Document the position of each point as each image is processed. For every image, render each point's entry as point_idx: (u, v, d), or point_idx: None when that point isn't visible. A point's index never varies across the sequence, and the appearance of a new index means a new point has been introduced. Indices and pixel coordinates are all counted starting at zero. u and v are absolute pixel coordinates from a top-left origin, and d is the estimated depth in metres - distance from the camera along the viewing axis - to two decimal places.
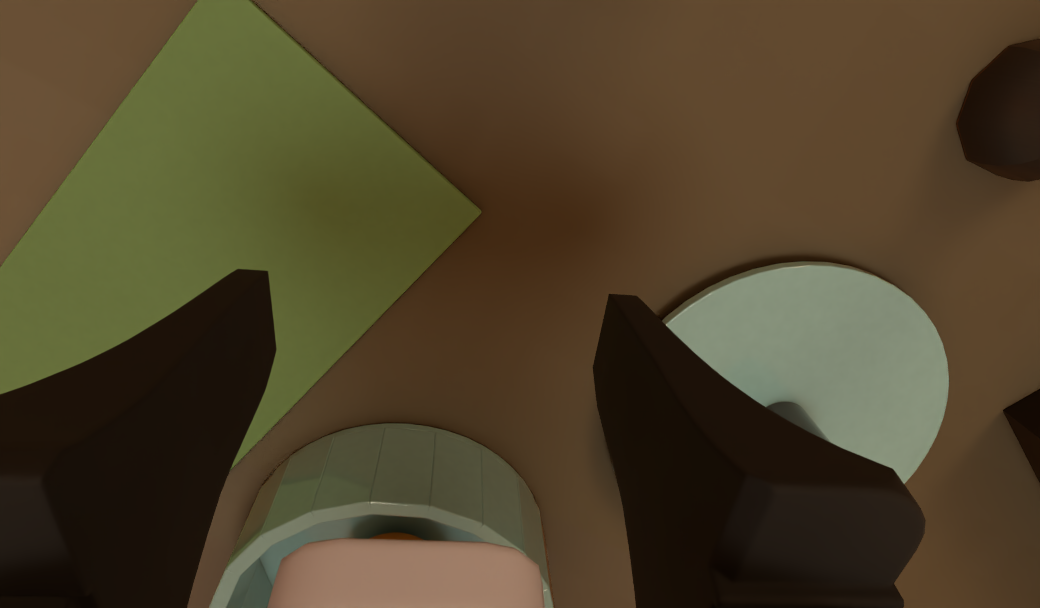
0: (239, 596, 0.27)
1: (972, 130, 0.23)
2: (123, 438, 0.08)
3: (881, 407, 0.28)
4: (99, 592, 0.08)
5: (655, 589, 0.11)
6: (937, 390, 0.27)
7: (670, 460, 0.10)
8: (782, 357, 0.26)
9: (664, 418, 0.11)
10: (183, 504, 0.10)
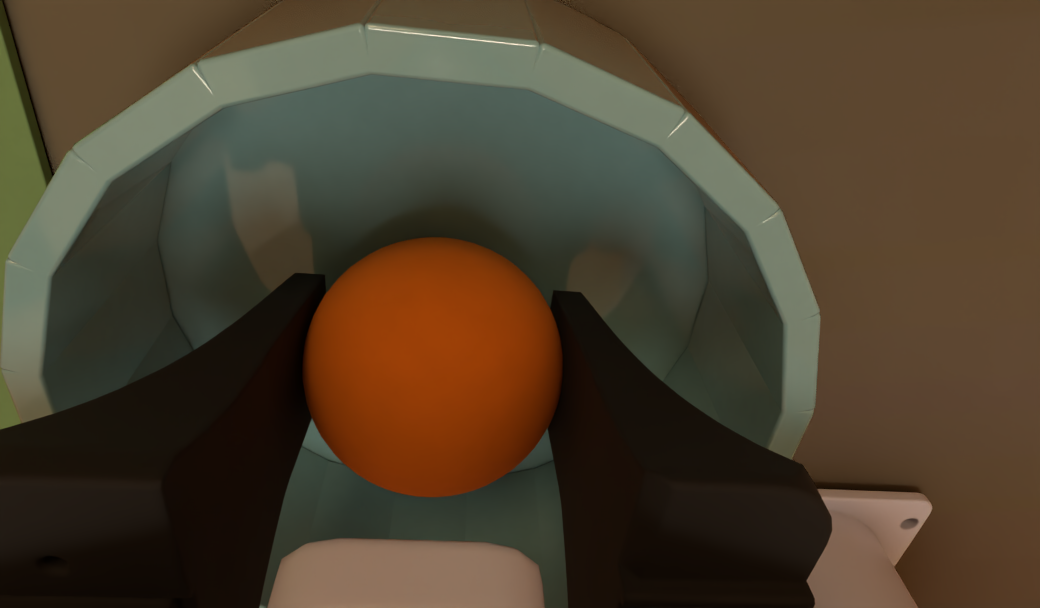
0: None
1: None
2: (218, 442, 0.08)
3: None
4: (199, 594, 0.08)
5: (581, 588, 0.10)
6: None
7: (594, 457, 0.10)
8: None
9: (591, 414, 0.11)
10: (258, 506, 0.10)
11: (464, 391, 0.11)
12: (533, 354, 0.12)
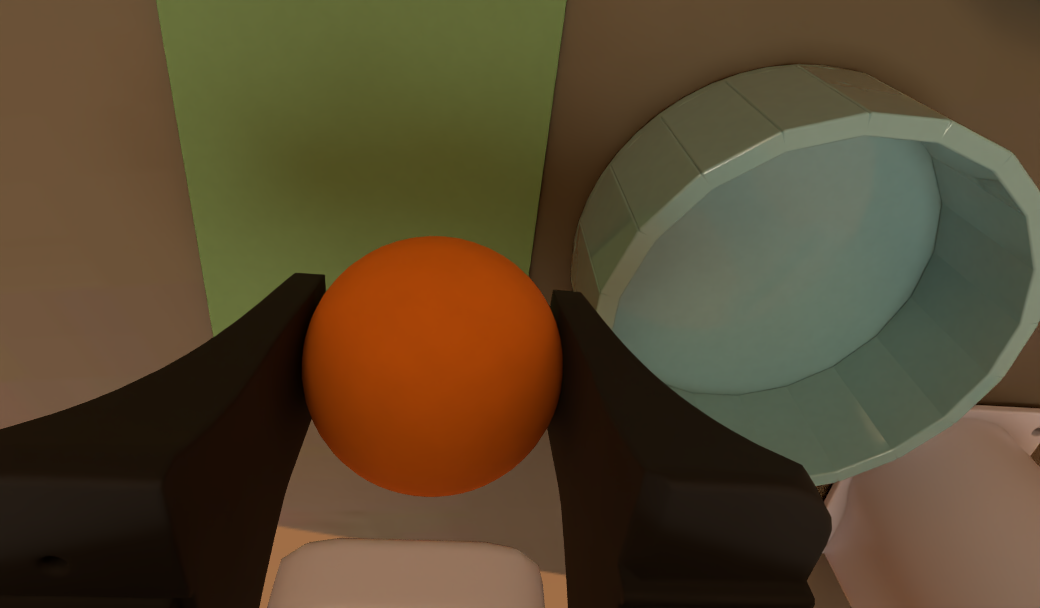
0: None
1: None
2: (218, 442, 0.08)
3: None
4: (199, 594, 0.08)
5: (581, 588, 0.10)
6: None
7: (594, 457, 0.10)
8: None
9: (591, 414, 0.11)
10: (258, 506, 0.10)
11: (463, 390, 0.11)
12: (533, 353, 0.11)
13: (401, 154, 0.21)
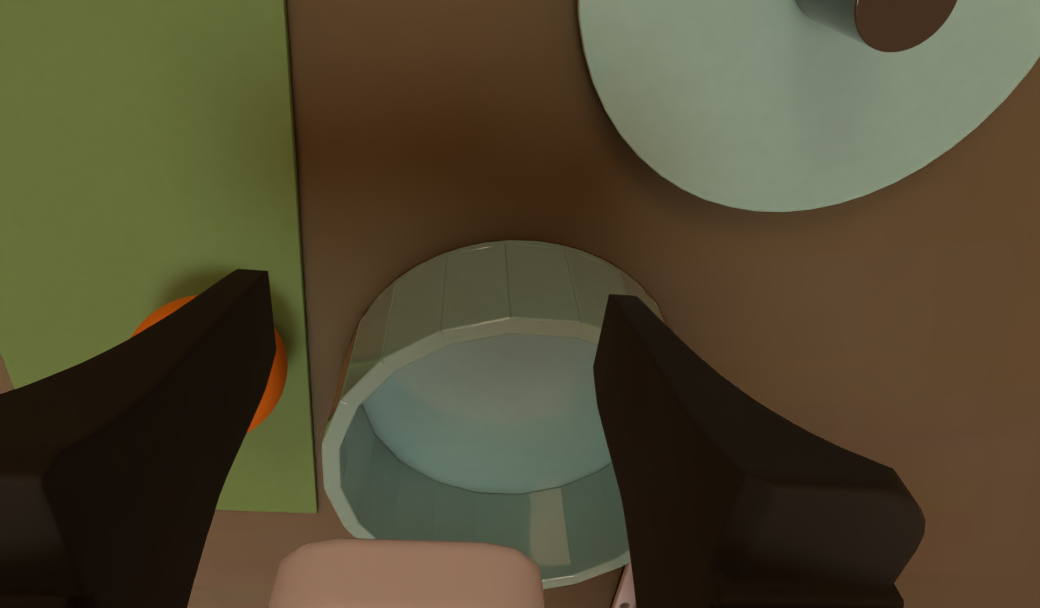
0: (381, 504, 0.26)
1: None
2: (123, 438, 0.08)
3: None
4: (99, 592, 0.08)
5: (655, 589, 0.11)
6: None
7: (670, 460, 0.10)
8: None
9: (664, 418, 0.11)
10: (183, 504, 0.10)
11: None
12: None
13: None
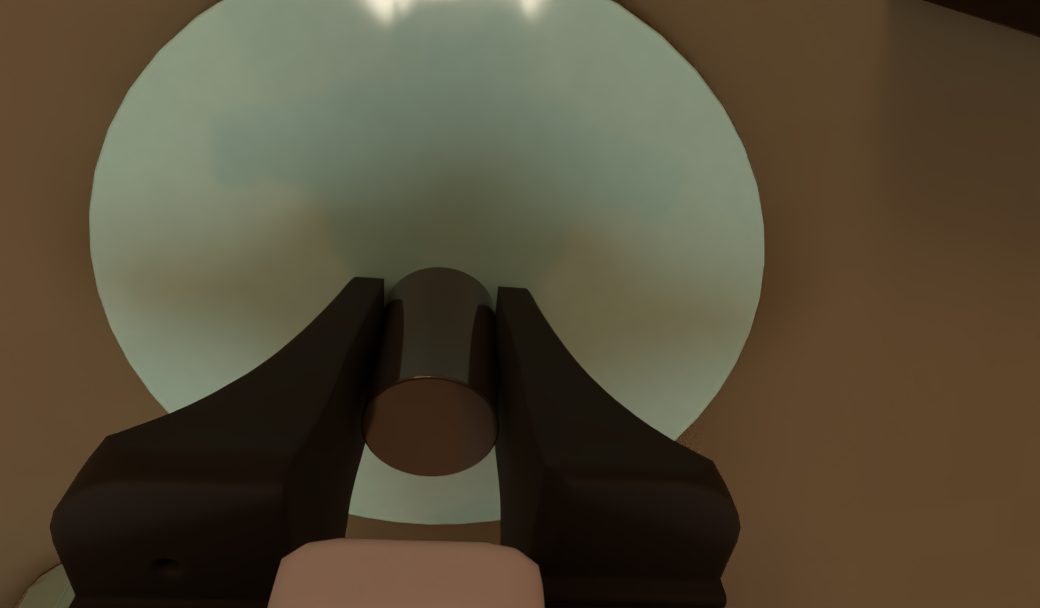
0: None
1: None
2: (315, 446, 0.08)
3: (578, 174, 0.13)
4: None
5: None
6: (655, 71, 0.12)
7: (519, 454, 0.10)
8: (315, 221, 0.13)
9: (518, 411, 0.10)
10: (336, 509, 0.11)
11: None
12: None
13: None
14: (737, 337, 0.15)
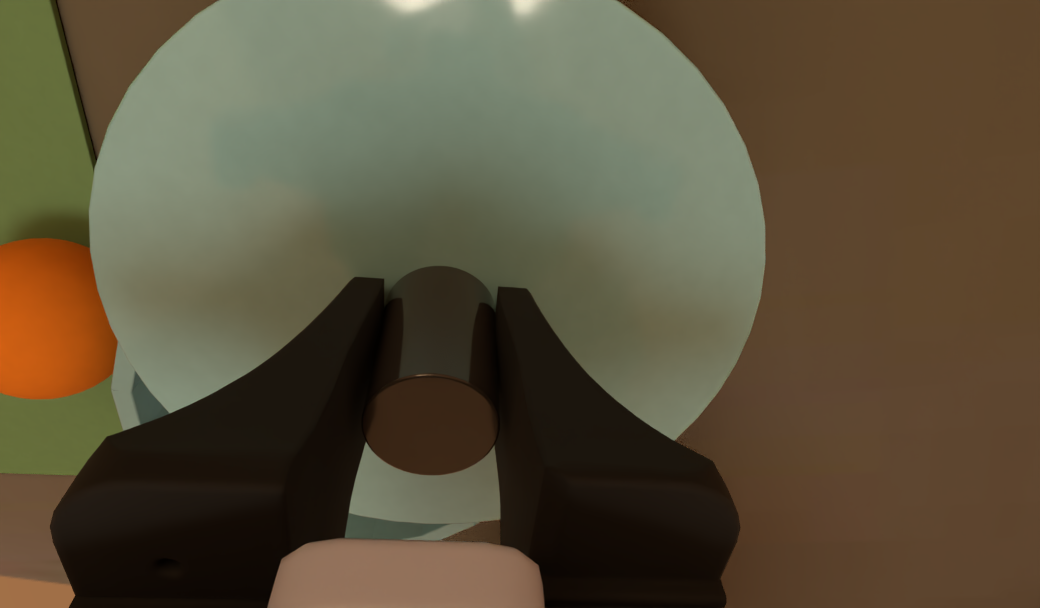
0: None
1: None
2: (316, 446, 0.08)
3: (579, 172, 0.13)
4: None
5: None
6: (656, 69, 0.12)
7: (518, 454, 0.10)
8: (316, 219, 0.13)
9: (518, 411, 0.10)
10: (336, 509, 0.11)
11: None
12: None
13: None
14: (738, 336, 0.15)
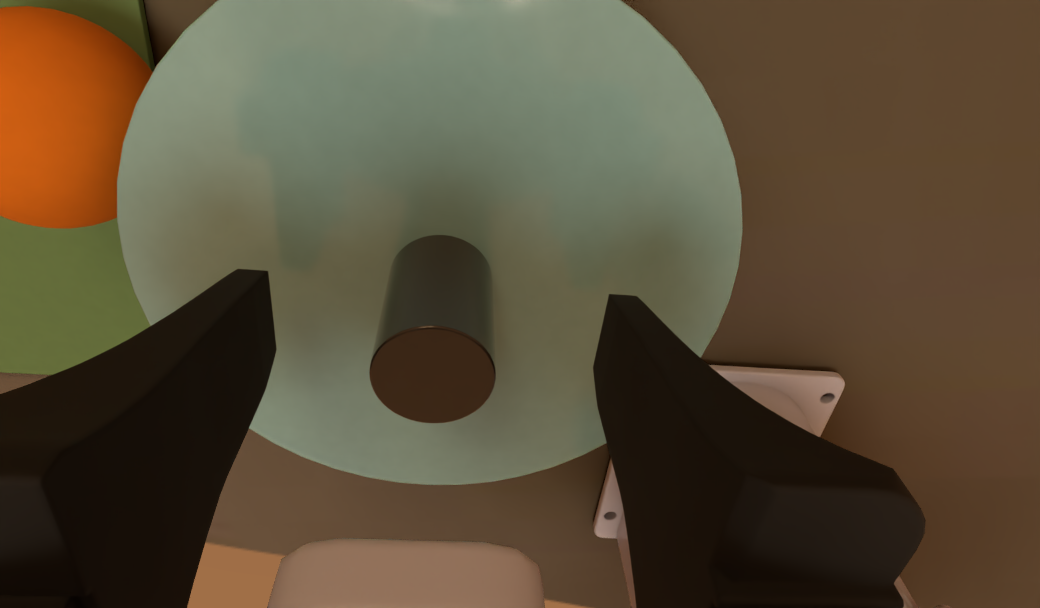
0: None
1: None
2: (123, 438, 0.08)
3: (569, 147, 0.14)
4: (99, 592, 0.08)
5: (655, 589, 0.11)
6: (638, 50, 0.13)
7: (670, 460, 0.10)
8: (326, 191, 0.14)
9: (664, 418, 0.11)
10: (183, 504, 0.10)
11: None
12: (144, 62, 0.16)
13: None
14: (718, 303, 0.17)
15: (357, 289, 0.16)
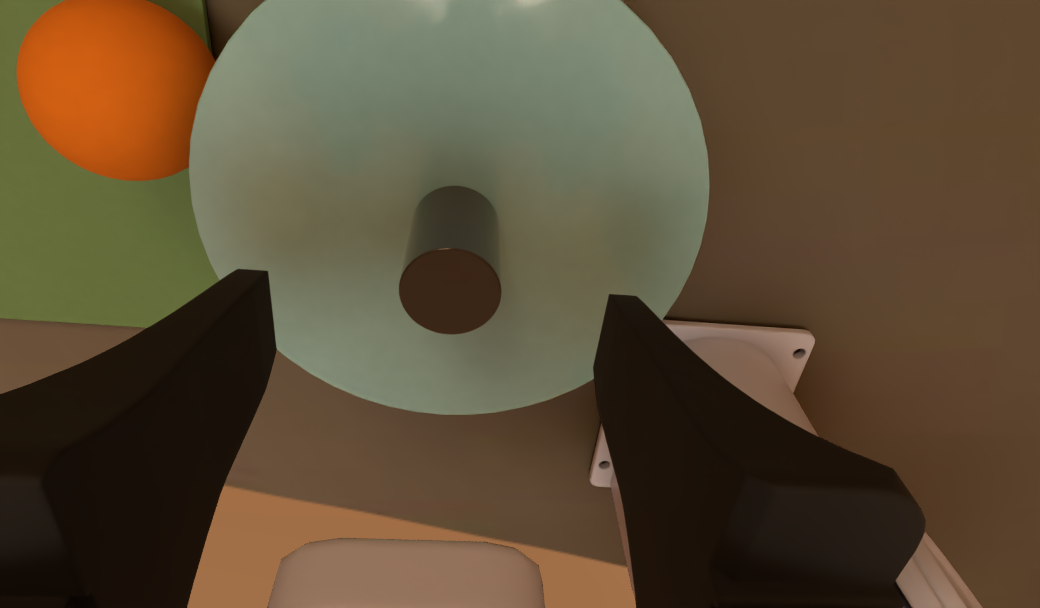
0: None
1: None
2: (123, 438, 0.08)
3: (563, 110, 0.17)
4: (99, 592, 0.08)
5: (655, 589, 0.11)
6: (618, 29, 0.16)
7: (670, 460, 0.10)
8: (361, 146, 0.17)
9: (664, 418, 0.11)
10: (183, 504, 0.10)
11: (204, 69, 0.18)
12: (203, 42, 0.19)
13: None
14: (691, 248, 0.19)
15: (385, 233, 0.19)
